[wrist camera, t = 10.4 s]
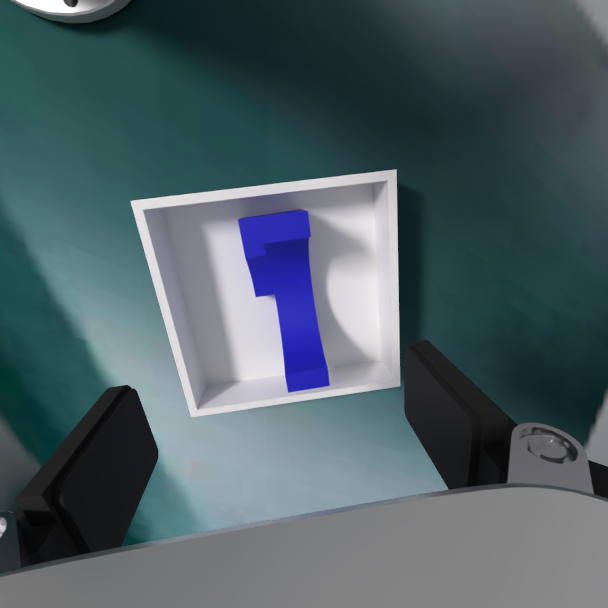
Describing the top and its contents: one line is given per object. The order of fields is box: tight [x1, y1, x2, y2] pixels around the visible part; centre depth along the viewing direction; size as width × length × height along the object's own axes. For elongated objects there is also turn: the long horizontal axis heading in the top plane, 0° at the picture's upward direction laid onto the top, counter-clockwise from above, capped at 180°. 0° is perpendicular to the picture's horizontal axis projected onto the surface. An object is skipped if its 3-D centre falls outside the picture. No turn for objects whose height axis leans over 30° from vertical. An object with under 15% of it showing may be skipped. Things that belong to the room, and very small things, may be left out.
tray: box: [131, 169, 400, 417], centre depth 24 cm, size 17×17×4 cm
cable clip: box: [238, 209, 330, 393], centre depth 23 cm, size 12×4×6 cm, turn 8°
